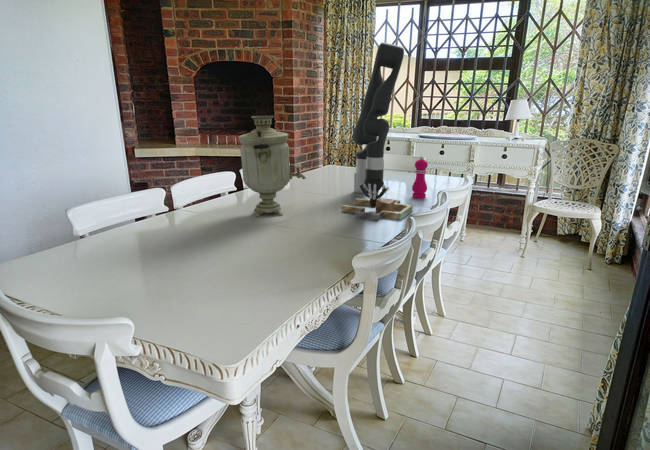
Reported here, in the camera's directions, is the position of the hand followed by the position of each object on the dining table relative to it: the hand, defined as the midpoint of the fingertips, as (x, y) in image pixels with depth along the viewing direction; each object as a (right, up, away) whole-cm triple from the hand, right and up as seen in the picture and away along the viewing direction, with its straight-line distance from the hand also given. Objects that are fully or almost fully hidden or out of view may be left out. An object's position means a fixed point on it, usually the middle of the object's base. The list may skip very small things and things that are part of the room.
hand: (373, 207), depth 183 cm
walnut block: (+5, -2, -2) cm, 6 cm away
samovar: (-42, -3, -3) cm, 43 cm away
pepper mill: (+25, +6, +24) cm, 35 cm away
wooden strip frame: (+2, -2, 0) cm, 2 cm away
